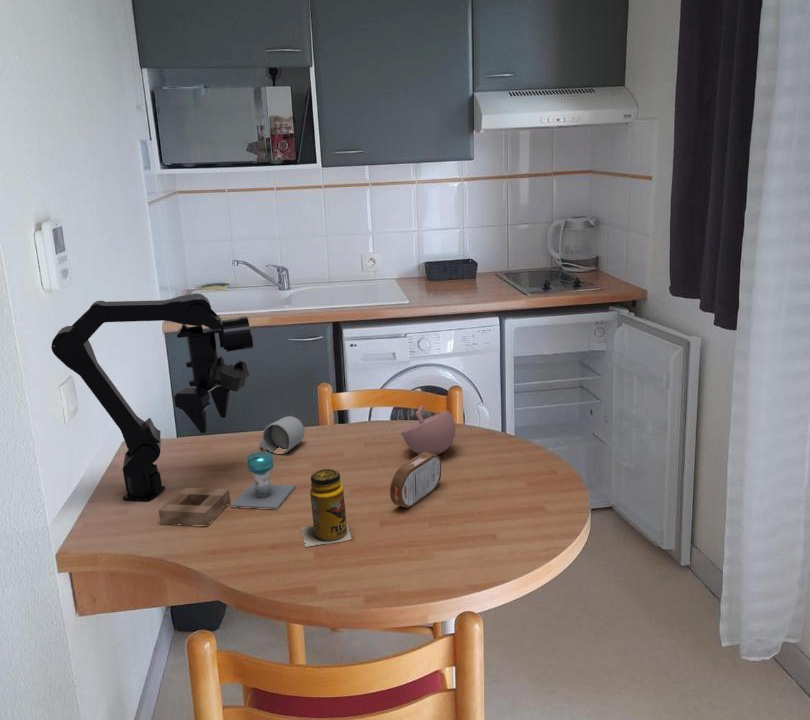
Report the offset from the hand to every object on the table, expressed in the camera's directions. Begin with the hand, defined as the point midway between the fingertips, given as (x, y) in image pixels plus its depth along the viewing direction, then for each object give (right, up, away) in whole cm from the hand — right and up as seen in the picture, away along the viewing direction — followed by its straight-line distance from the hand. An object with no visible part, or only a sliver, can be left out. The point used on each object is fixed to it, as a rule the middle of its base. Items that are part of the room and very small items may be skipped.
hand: (213, 425), depth 160 cm
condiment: (+26, -18, -22) cm, 39 cm away
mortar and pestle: (+47, -8, +10) cm, 48 cm away
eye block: (-1, -17, -11) cm, 20 cm away
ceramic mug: (+11, -8, +19) cm, 24 cm away
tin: (+44, -14, -11) cm, 47 cm away
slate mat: (+12, -14, -6) cm, 20 cm away
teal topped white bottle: (+12, -14, -6) cm, 19 cm away
